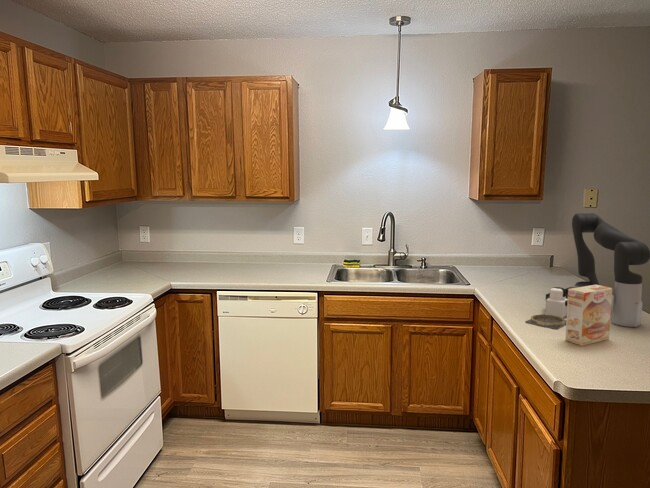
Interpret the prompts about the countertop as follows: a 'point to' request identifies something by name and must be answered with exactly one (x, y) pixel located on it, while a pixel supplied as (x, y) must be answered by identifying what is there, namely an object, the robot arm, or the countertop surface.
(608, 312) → the coffeecake box
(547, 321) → the ring seat
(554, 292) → the medicine bottle
